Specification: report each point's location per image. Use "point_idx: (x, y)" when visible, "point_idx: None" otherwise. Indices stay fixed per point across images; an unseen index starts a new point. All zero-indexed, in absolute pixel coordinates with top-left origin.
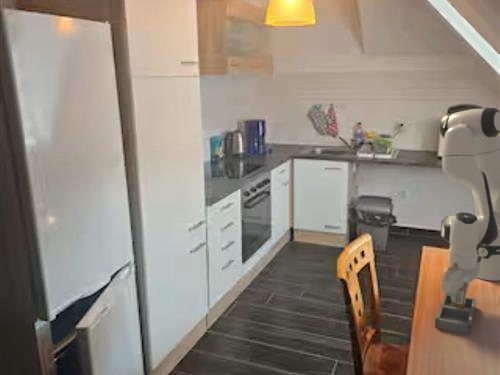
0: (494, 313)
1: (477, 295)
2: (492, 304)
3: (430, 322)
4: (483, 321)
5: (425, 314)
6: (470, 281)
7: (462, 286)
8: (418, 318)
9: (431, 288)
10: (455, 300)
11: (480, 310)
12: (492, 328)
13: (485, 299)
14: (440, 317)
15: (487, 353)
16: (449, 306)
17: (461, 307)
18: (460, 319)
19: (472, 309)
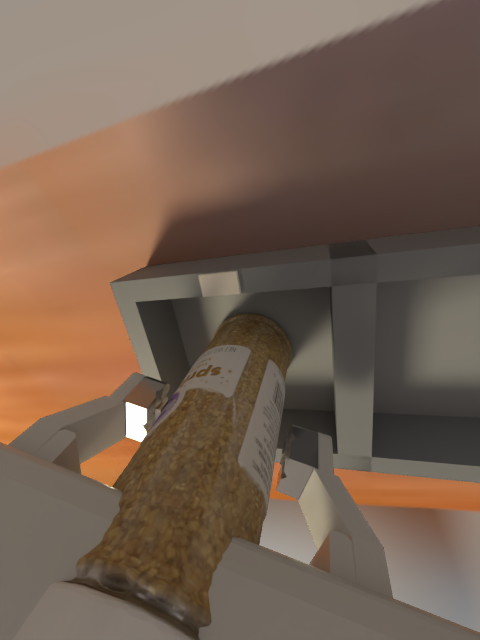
0: (145, 121)
1: (19, 282)
2: (41, 176)
3: None
4: (325, 160)
5: (405, 478)
6: (7, 456)
7: (245, 557)
8: (476, 505)
9: (120, 460)
10: (330, 436)
11: (169, 226)
12: (432, 36)
13: (22, 233)
14: (477, 436)
15: None
16: (343, 423)
17: (274, 346)
18: (382, 315)
19: (303, 273)
